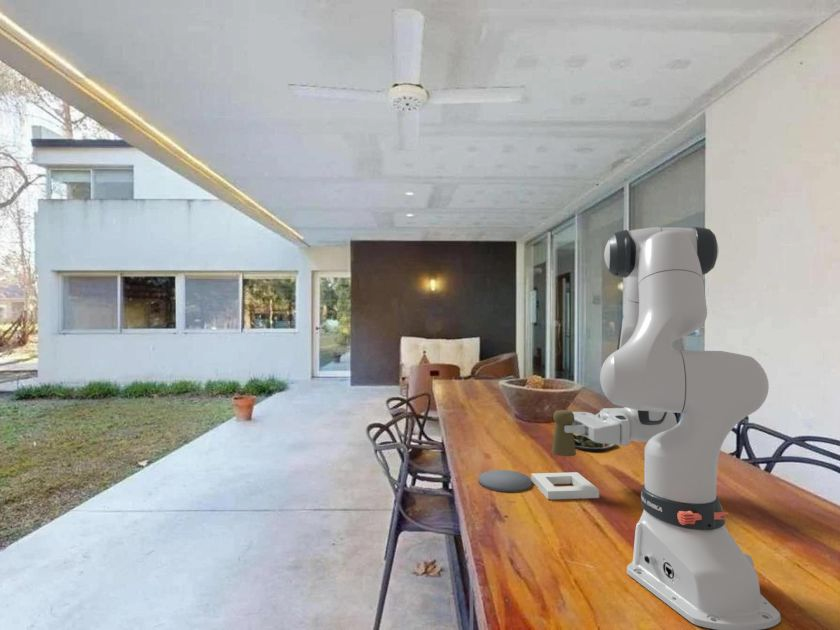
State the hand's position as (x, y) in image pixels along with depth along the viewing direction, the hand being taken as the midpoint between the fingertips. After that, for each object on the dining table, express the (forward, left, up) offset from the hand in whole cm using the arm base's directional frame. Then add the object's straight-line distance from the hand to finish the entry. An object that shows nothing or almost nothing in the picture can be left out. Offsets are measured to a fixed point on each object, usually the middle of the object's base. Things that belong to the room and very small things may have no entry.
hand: (560, 426), depth 121 cm
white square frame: (0, -1, -16) cm, 16 cm away
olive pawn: (0, -1, -7) cm, 7 cm away
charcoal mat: (+6, +13, -16) cm, 22 cm away
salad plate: (+40, -25, -17) cm, 50 cm away
